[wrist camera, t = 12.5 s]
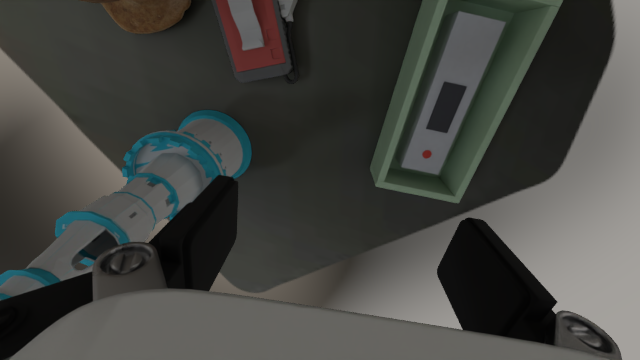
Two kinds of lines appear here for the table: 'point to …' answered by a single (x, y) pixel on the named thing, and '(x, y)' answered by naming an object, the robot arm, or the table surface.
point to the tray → (486, 105)
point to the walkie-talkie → (258, 37)
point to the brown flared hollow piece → (145, 13)
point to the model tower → (140, 196)
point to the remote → (447, 89)
